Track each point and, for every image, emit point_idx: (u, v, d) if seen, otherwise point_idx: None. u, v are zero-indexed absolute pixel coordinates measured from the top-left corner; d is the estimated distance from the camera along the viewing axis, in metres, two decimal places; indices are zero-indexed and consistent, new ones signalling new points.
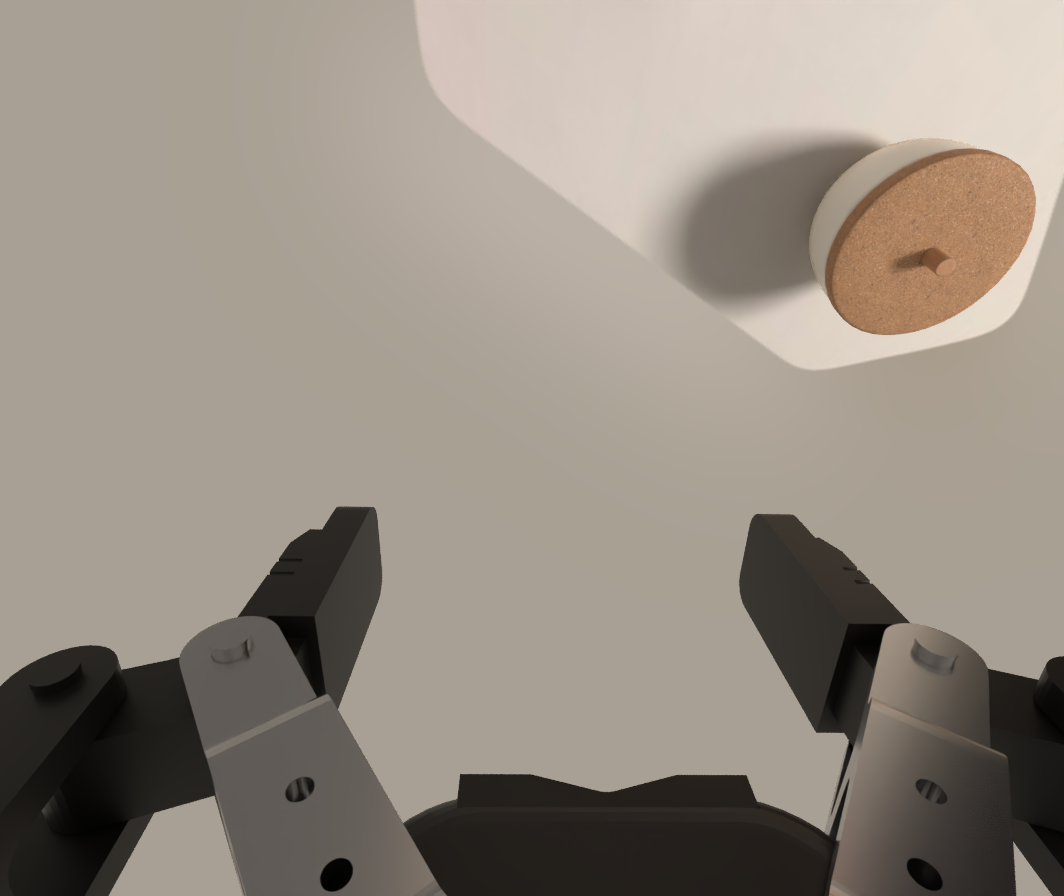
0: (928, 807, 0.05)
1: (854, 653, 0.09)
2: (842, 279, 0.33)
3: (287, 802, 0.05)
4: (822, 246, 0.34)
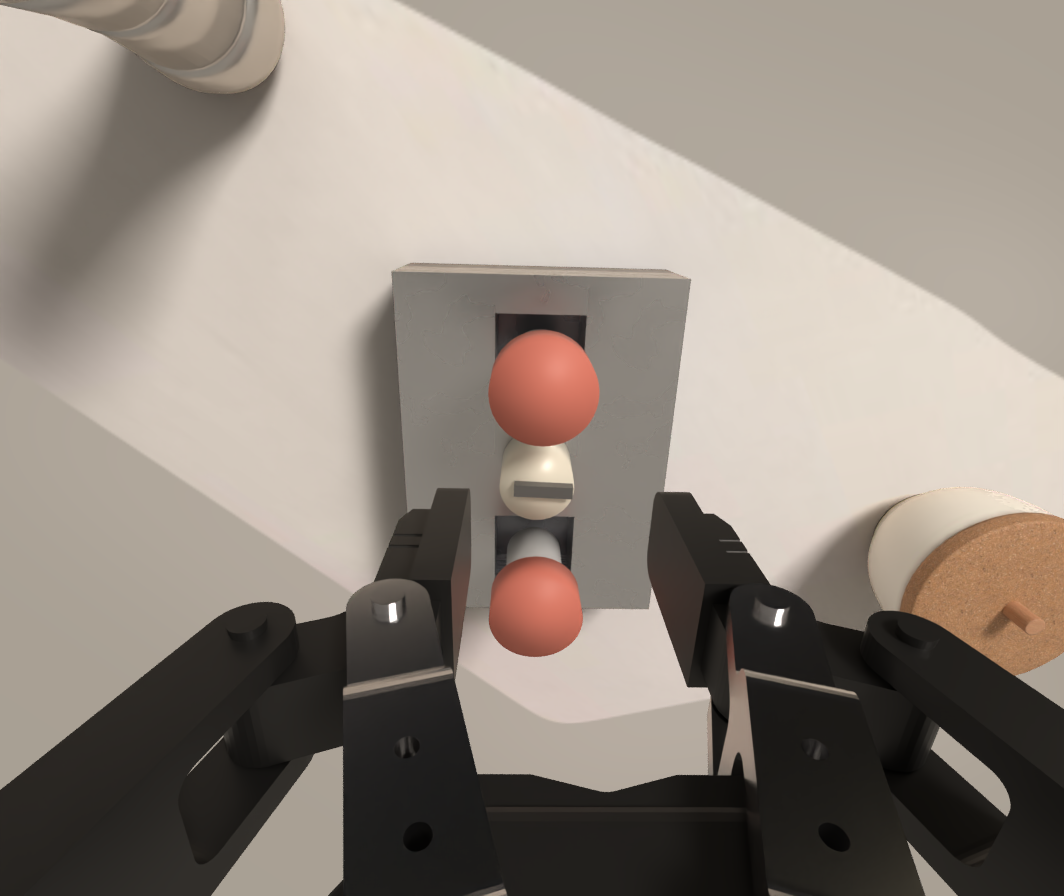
0: (815, 766, 0.06)
1: (713, 612, 0.09)
2: None
3: (394, 754, 0.06)
4: None
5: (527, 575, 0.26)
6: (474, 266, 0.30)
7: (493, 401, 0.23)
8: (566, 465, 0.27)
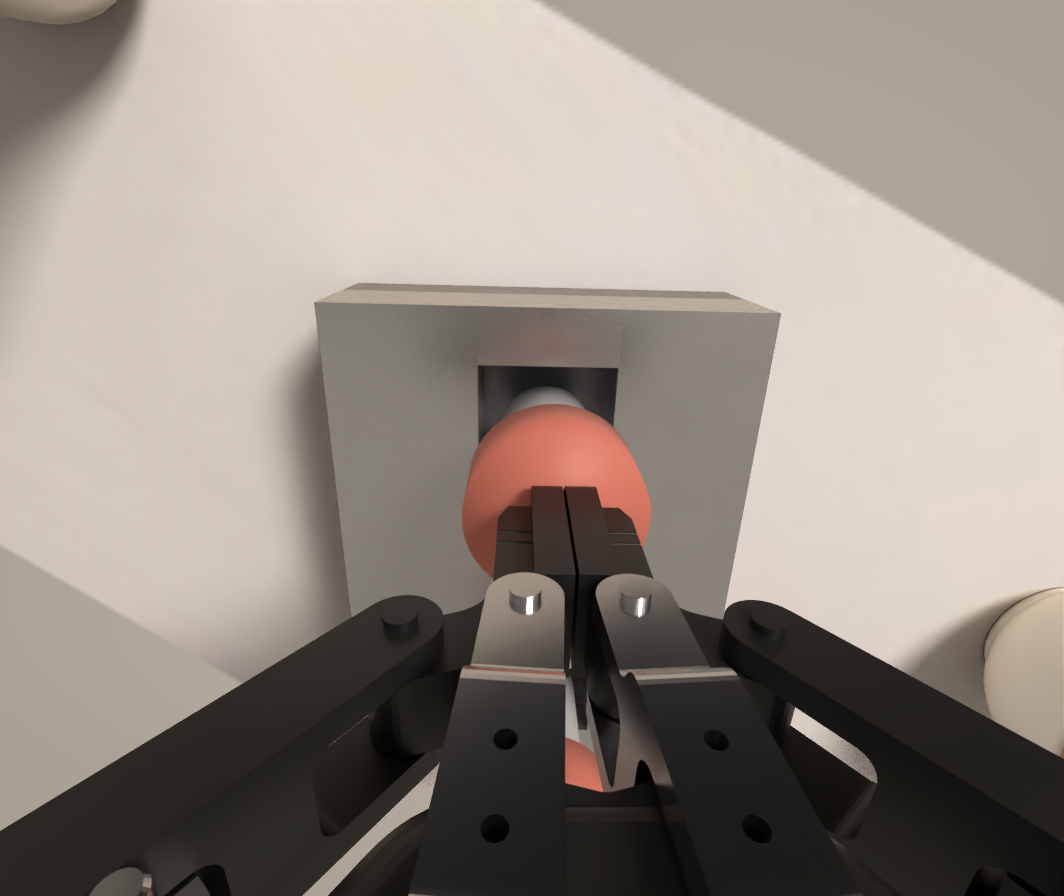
0: (720, 757, 0.06)
1: (590, 603, 0.10)
2: None
3: (493, 742, 0.06)
4: None
5: None
6: (449, 289, 0.20)
7: (470, 530, 0.13)
8: None
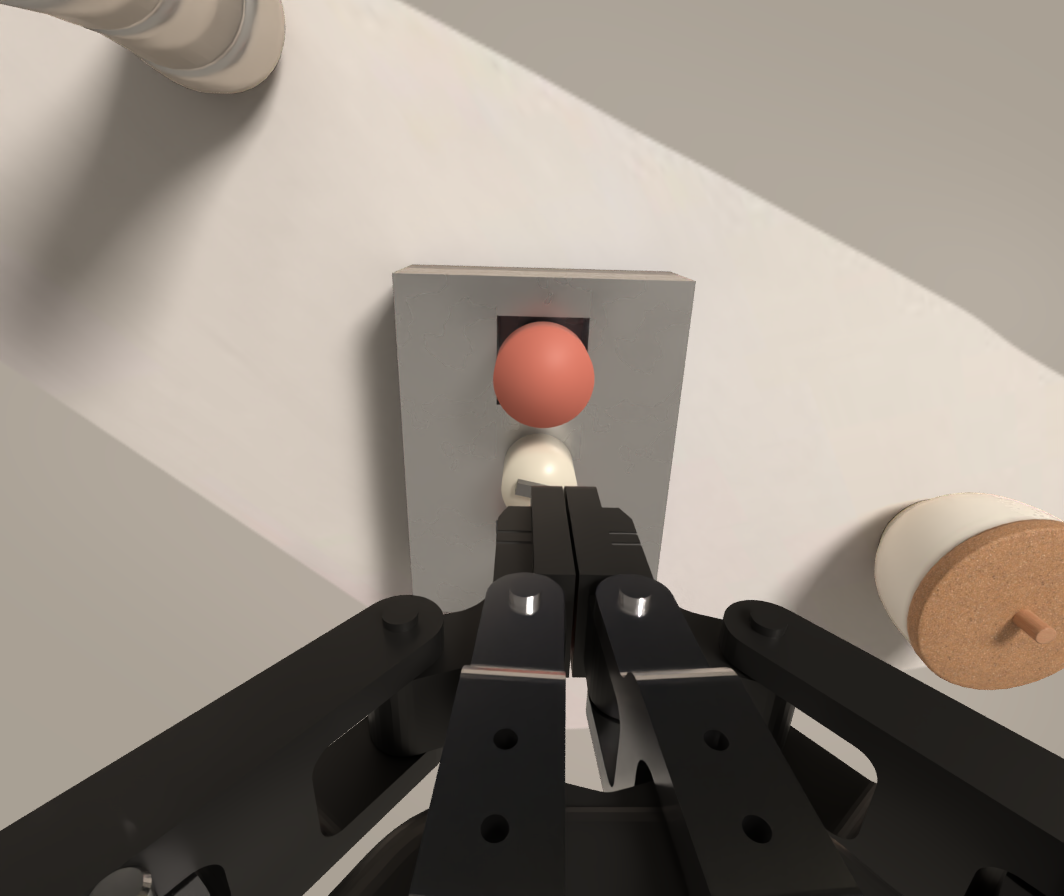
0: (720, 757, 0.06)
1: (591, 602, 0.10)
2: (961, 678, 0.32)
3: (493, 741, 0.06)
4: None
5: None
6: (476, 268, 0.30)
7: (497, 386, 0.25)
8: (573, 472, 0.27)
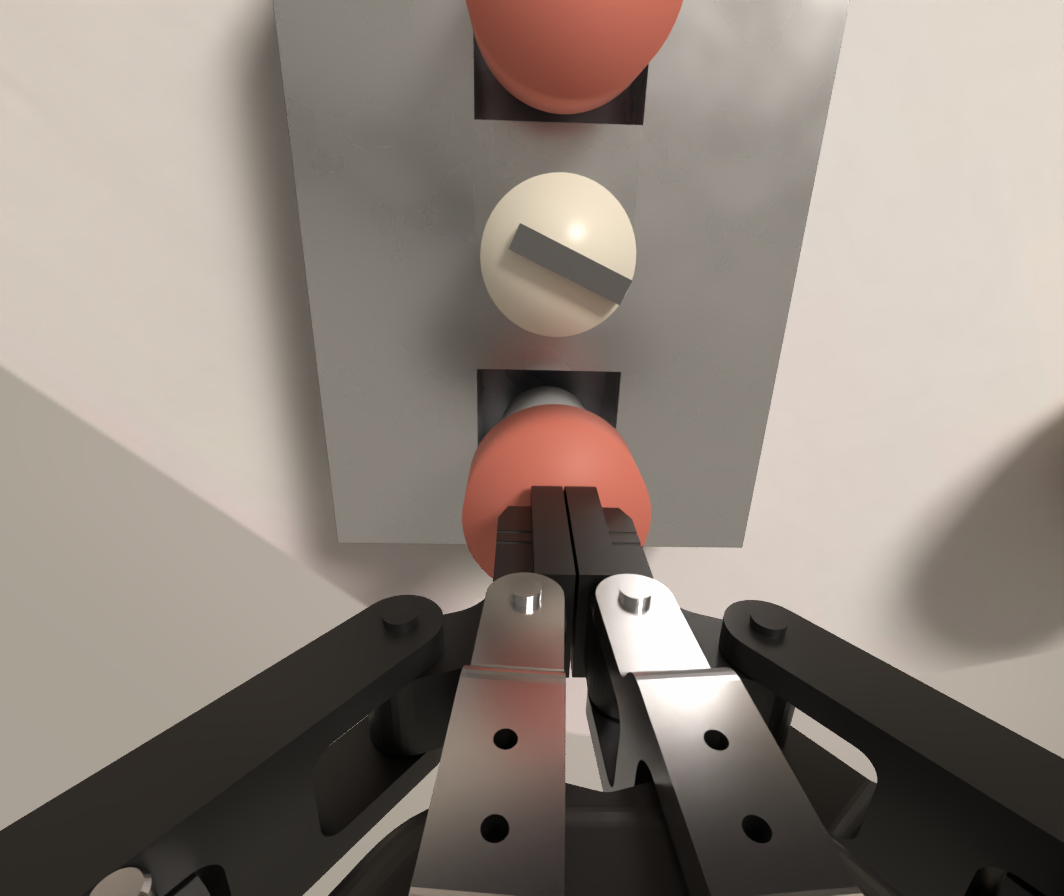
0: (720, 756, 0.06)
1: (591, 603, 0.10)
2: None
3: (493, 741, 0.06)
4: None
5: (540, 426, 0.13)
6: None
7: None
8: (633, 235, 0.13)
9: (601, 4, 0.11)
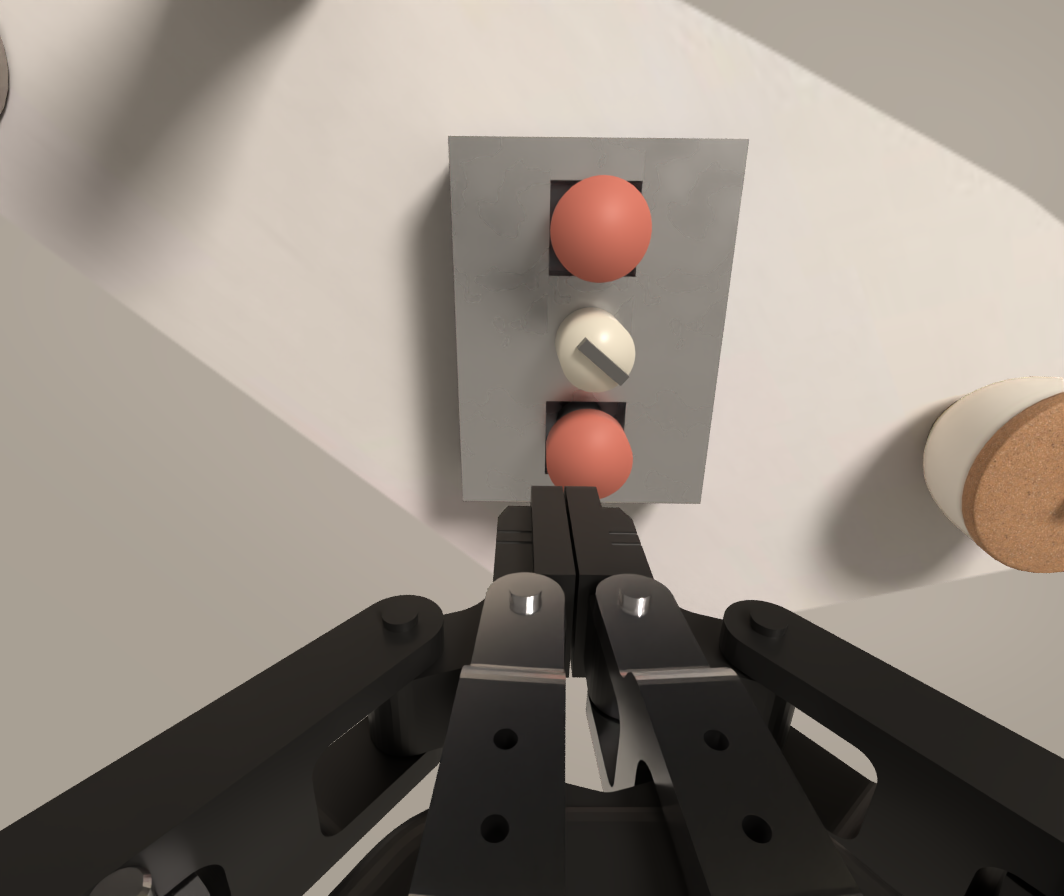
0: (720, 756, 0.06)
1: (591, 602, 0.10)
2: (1018, 560, 0.31)
3: (492, 741, 0.06)
4: (969, 536, 0.33)
5: (582, 418, 0.28)
6: None
7: (555, 237, 0.25)
8: (634, 355, 0.27)
9: (613, 245, 0.25)
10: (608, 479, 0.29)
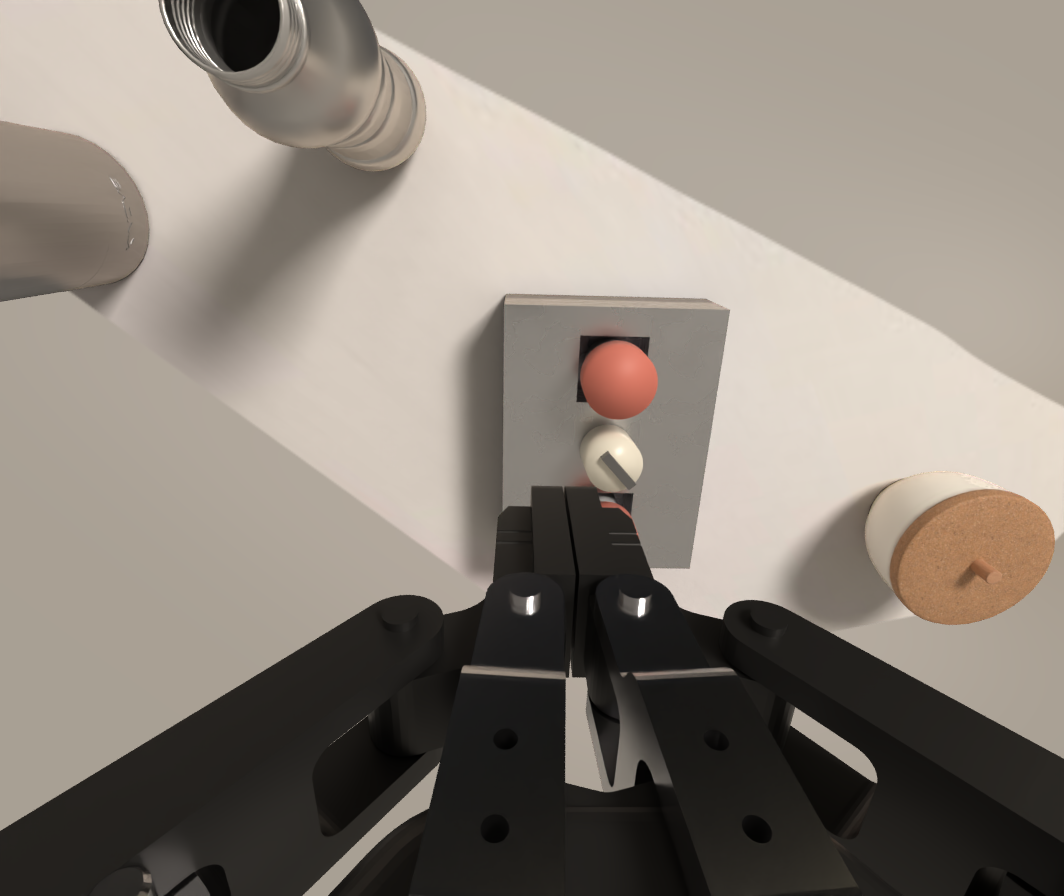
0: (720, 756, 0.06)
1: (590, 602, 0.10)
2: (932, 615, 0.41)
3: (493, 741, 0.06)
4: None
5: None
6: (557, 297, 0.38)
7: (586, 388, 0.33)
8: None
9: (628, 394, 0.34)
10: None
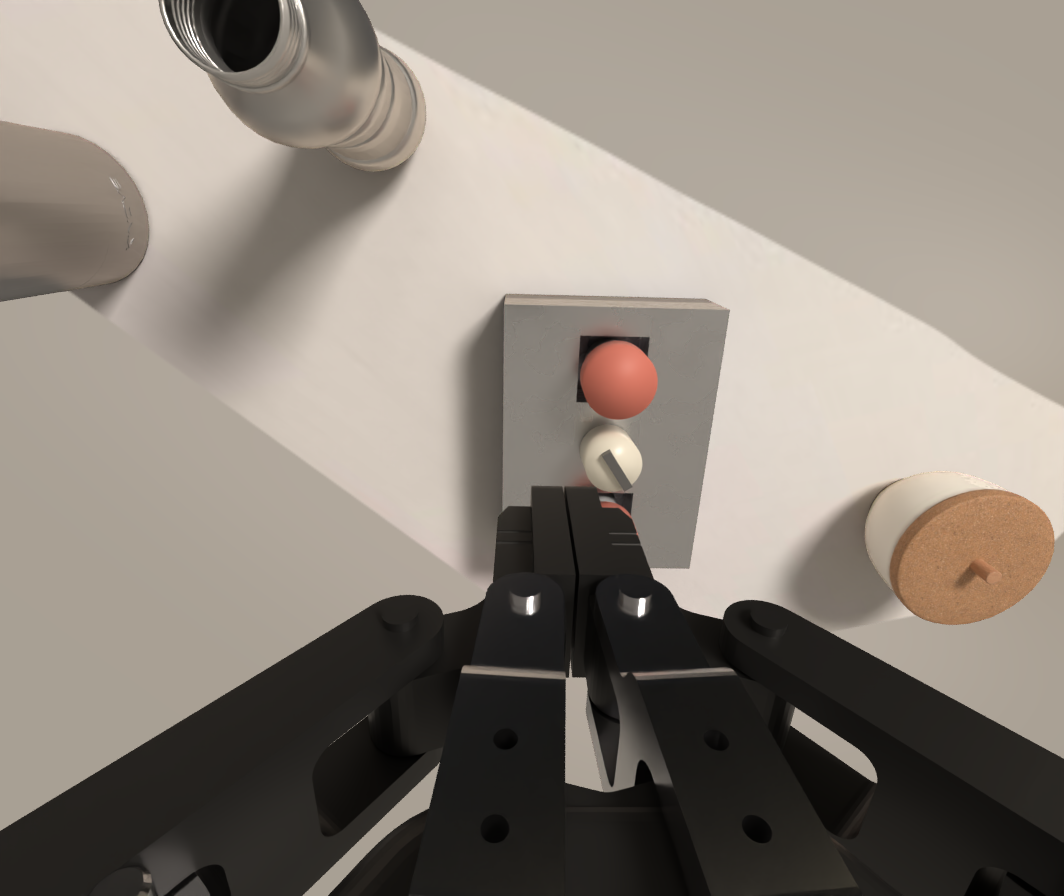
0: (719, 756, 0.06)
1: (591, 603, 0.10)
2: (932, 615, 0.41)
3: (493, 742, 0.06)
4: None
5: None
6: (557, 297, 0.38)
7: (586, 388, 0.34)
8: (640, 471, 0.36)
9: (628, 394, 0.34)
10: None
